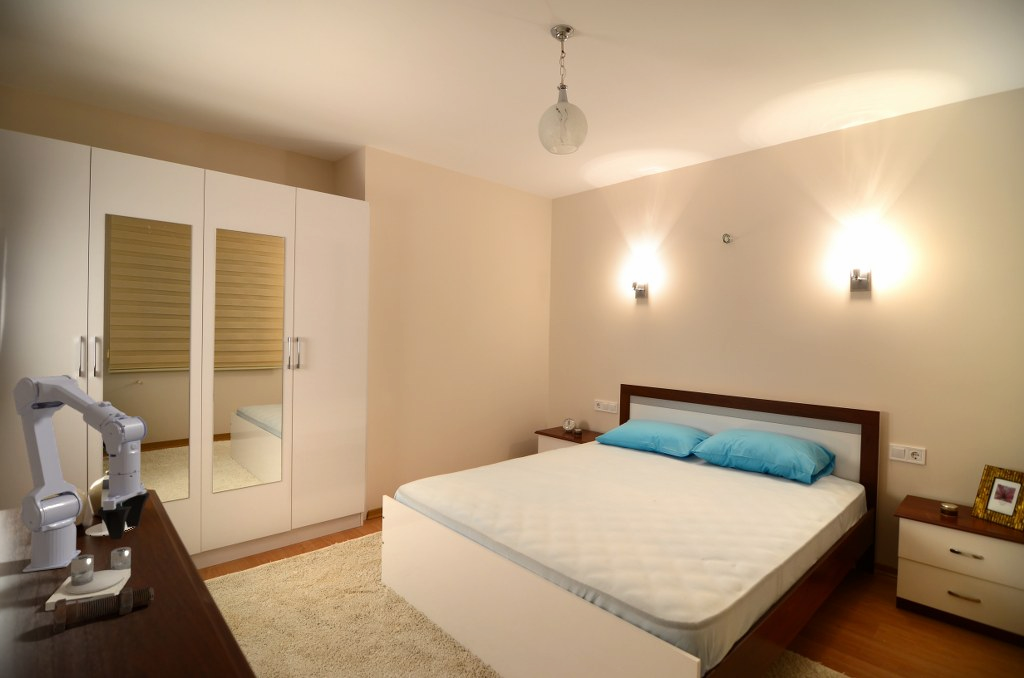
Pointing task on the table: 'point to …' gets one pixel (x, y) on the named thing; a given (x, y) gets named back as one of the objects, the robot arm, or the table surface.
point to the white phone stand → (101, 528)
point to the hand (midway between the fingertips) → (125, 532)
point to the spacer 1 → (82, 570)
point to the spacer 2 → (121, 558)
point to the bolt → (100, 606)
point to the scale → (91, 588)
